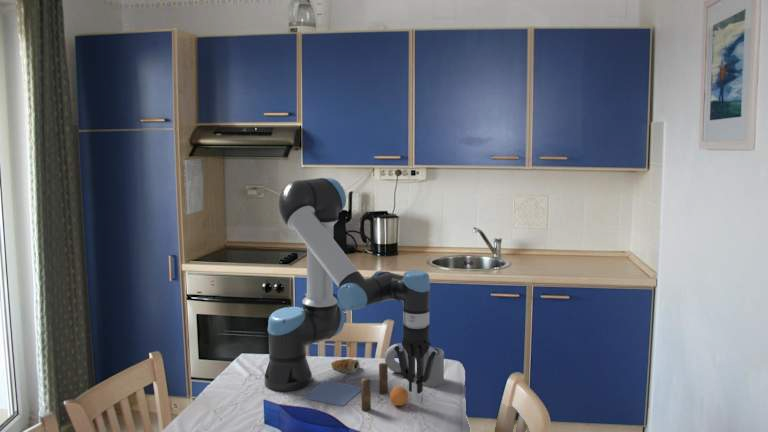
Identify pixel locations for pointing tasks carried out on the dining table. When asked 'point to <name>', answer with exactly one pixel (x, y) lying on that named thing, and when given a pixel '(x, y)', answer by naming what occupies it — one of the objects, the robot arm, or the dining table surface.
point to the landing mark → (333, 393)
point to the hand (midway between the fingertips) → (415, 402)
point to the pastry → (346, 365)
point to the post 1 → (365, 394)
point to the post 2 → (383, 378)
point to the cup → (435, 369)
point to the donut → (393, 359)
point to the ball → (398, 396)
